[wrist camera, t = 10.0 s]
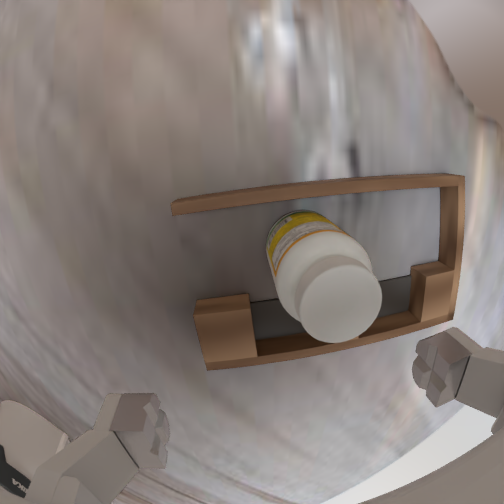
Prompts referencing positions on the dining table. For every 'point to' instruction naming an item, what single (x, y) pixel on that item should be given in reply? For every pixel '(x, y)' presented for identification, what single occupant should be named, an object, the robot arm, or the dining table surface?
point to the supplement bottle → (322, 277)
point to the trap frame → (393, 290)
